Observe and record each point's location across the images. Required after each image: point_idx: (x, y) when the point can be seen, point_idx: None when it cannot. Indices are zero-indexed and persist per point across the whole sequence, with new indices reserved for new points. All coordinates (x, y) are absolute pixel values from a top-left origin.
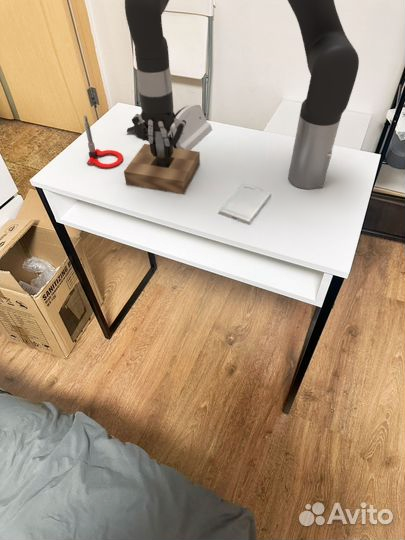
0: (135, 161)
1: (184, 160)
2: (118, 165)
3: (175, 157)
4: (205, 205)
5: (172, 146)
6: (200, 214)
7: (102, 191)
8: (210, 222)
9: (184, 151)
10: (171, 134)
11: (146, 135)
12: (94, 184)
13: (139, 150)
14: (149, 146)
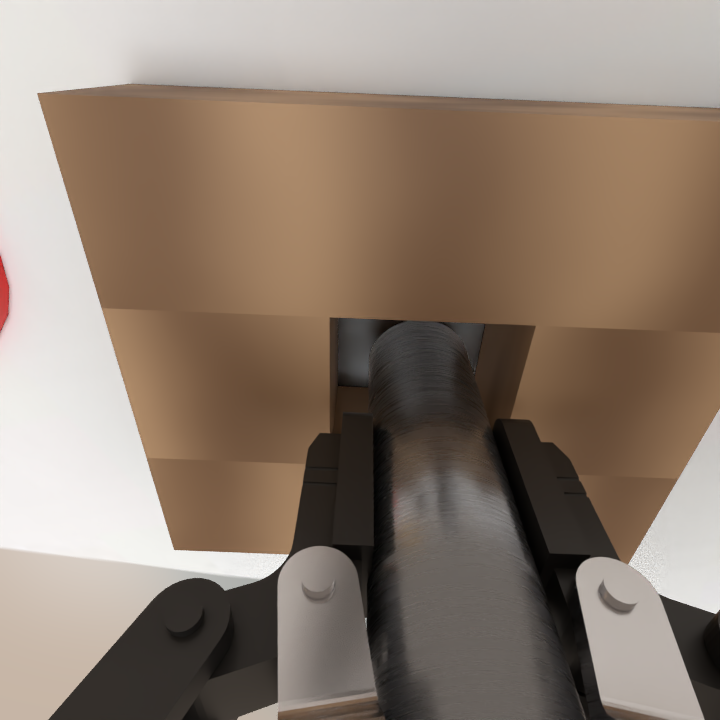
0: (179, 444)
1: (646, 351)
2: (5, 304)
3: (543, 321)
4: (705, 526)
5: (602, 537)
6: (669, 572)
7: (122, 526)
8: (711, 598)
9: (655, 167)
10: (695, 712)
11: (226, 711)
12: (34, 492)
13: (92, 276)
14: (149, 157)
